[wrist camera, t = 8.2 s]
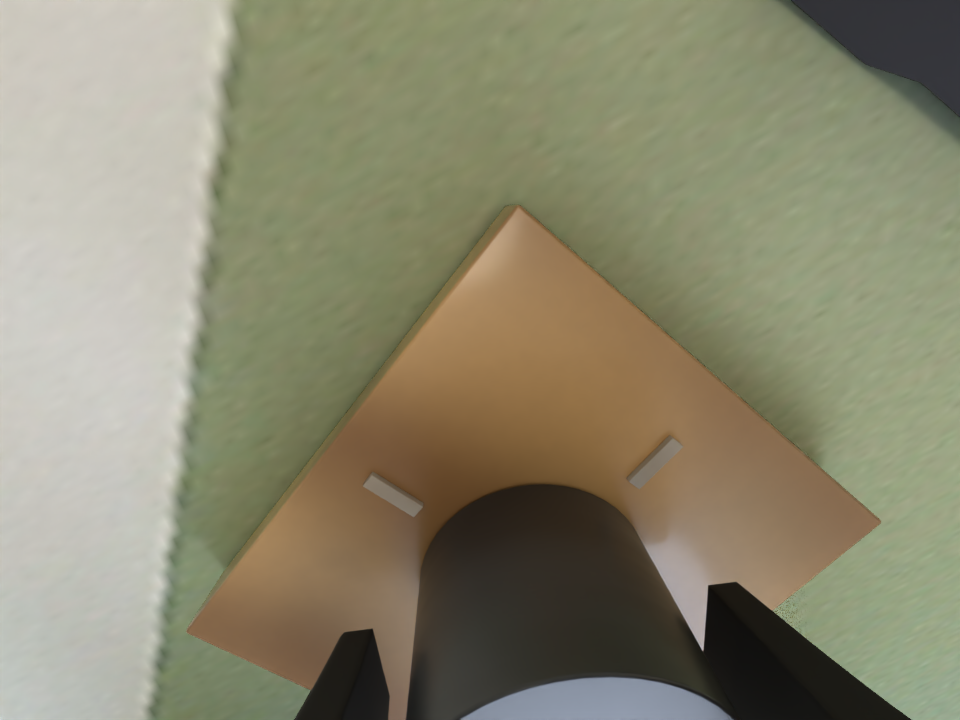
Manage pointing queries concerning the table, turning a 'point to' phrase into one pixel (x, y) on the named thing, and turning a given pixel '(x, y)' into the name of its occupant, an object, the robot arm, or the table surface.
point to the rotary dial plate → (524, 464)
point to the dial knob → (552, 619)
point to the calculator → (899, 38)
